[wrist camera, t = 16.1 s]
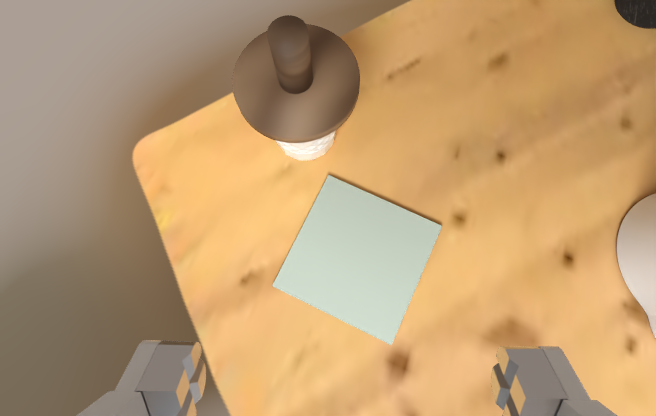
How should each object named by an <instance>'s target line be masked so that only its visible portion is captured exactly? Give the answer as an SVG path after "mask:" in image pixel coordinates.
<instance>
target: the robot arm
mask: <svg viewBox="0 0 656 416" xmlns="http://www.w3.org/2000/svg"><path fill="white" fill-rule="evenodd" d="M617 257H618V263H619V267H620V270H621V273H622V276H623V278H624V280H625V282H626V284H627V286H628V288H629V290H630V291H631V293H632V294H633V296H634V297H635V298H636V299H637V301H638V302H639V303H640V305H641V306H642V307H643V309H644V310H645V312H646V314H647V315H648V319H649V322H650V326H651V329H652V332H653V334H654V337H655V339H656V193H655V194H652V195H650V196H648V197H646V198H644V199H642V200H641V201H639V202H638V203H637V204H635V205H634V206H633V207H632V208H631V209H630V211H629V212H628V213H627V215H626V216H625V218H624V220H623V222H622V224H621V226H620V229H619V233H618V238H617ZM201 352H202V350H201V346H200V343H198V342H184V341H153V340H152V341H151V340H144V341H143V342H142V343H140V344H139V346H138V347H137V349H136V351H135V353H134V355H133V357H132V359H131V361H130V363H129V364H128V366H127V368H126V370H125V372H124V374H123V376H122V378H121V380H120V381H119V383H118V385H117V387H116V389H115V391H109V392H107V393H106V394H105V395H103V396H102V397H101V398H99V399H98V400H97V401H95V402H94V403H93V404H91V405H90V406H89V407H87V408H86V409H85V410H84V411H82V412H81V413H79V414H78V415H77V416H196V408H195V403H196V402H197V401H199V399H201V398H202V395H203V391H204V387H205V381H206V368H205V363H204V362H203V361H202V360H201V359H200V355H201ZM496 357H497V360H498V362H499V363H498V364H496V365H495V366H494V367H493V369H492V374H491V387H492V392H493V396H494V399H495V402H496V404H497V405H498V406H499V407H500V408H502V409H503V410H504V412H503V415H502V416H617V415H616V414H614V413H613V412H612V411H610V410H609V409H608V408H606V407H605V406H604V405H602V404H601V403H600V402H598V401H597V400H591V399H590V397H589V396H588V394H587V392H586V390H585V389H584V387H583V385H582V384H581V382H580V380H579V378H578V377H577V375H576V373H575V371H574V370H573V368H572V366H571V364H570V363H569V361H568V359H567V358H566V356H565V354H564V352H563V351H562V349H560V348H559V347H544V346H539V347H537V346H500V348H499V349H498V351H497V354H496Z"/></svg>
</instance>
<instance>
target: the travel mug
mask: <svg viewBox="0 0 656 416" xmlns="http://www.w3.org/2000/svg"><path fill="white" fill-rule="evenodd" d="M615 6H616V9H617V10H618V12H619V14H620V15H621V16H622V17H623V18H624V19H625V20H626V21H628V22H629V23H631V24H633V25H635V26H638V27H642V28H656V0H615Z"/></svg>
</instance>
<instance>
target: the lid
mask: <svg viewBox="0 0 656 416" xmlns="http://www.w3.org/2000/svg"><path fill="white" fill-rule="evenodd" d="M359 84H360V74H359V67H358V63H357V61H356V58H355V56H354V54H353V52H352V51H351V49H350V48H349V47H348V45H347V44H346V43H345V42H344V41H343V40H342V39H341V38H339V37H338V36H336V35H335V34H334V33H332V32H330V31H328V30H326V29H323V28H321V27H318V26H314V25H308V24H305V23H304V21H303V20H301V19H300V18H298V17H295V16H282V17H279V18H277V19H276V20H274V21H273V22H272V23H271V24H270V26H269V28H268V31H266V32H264V33H262V34H261V35H259V36H258V37H257V38H255V39H254V40H253V41H252V42H251V43H249V44H248V45H247V47H246V48H245V49H244V50H243V52H242V53H241V55H240V56H239V58H238V60H237V63H236V65H235V69H234V72H233V93H234V97H235V100H236V102H237V104H238V107H239V109H240V111H241V113H242V115H243V116H244V118H245V119H246V121H247V122H248V123H249V124H250V125H251V126H252V127H253V128H254V129H255V130H257V131H258V132H259V133H261V134H263V135H264V136H266V137H268V138H271V139H273V140H277V141H280V142H286V143H305V142H310V141H314V140H317V139H321V138H323V137H325V136H327V135H329V134H330V133H332V132H334V131H335V130H336V129H338V128H339V127H340V126H341V125H342V124H343V123H344V122H345V121H346V120H347V119H348V117H349V116H350V115H351V113H352V111H353V109H354V107H355V105H356V102H357V99H358V94H359Z"/></svg>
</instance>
